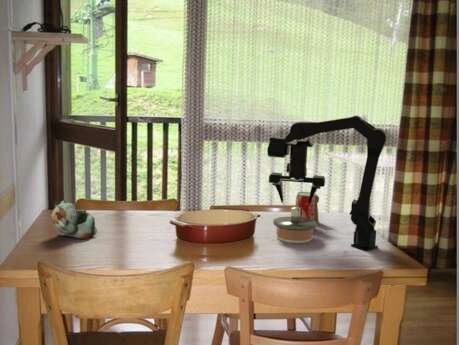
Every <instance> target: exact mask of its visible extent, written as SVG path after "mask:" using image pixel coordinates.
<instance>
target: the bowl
mask: <svg viewBox="0 0 459 345" xmlns="http://www.w3.org/2000/svg"><path fill="white" fill-rule="evenodd" d="M313 232H314V229H310V230H288V229H283V228H279V227H277V226H276V233H275V234H276V238H277V240H279V241H281V242H284V243H288V244H306V243H310V242H311V241H312V238H313V234H314V233H313Z"/></svg>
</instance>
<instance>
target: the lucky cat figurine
mask: <svg viewBox="0 0 459 345" xmlns="http://www.w3.org/2000/svg"><path fill="white" fill-rule="evenodd" d="M52 208H53V211H52V213H51V218H52V225H53V226H54V227H55V228H56V230H58V231H59V234H60V236H69V237H71V238H72V237H73V238H78V239H80V240H81V239H82V240H87V239H92V238H93V237H94V236H96V235H97V233H98V229H97V227H96V220H95V217H94V216H93V215H92V214H90V213H89V212H87V210H86V209H80V210H78V209H77V207H76V205H75V204H74V203H71V202H66V200H62V201H60V202H57V201H54V202H53V207H52Z"/></svg>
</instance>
